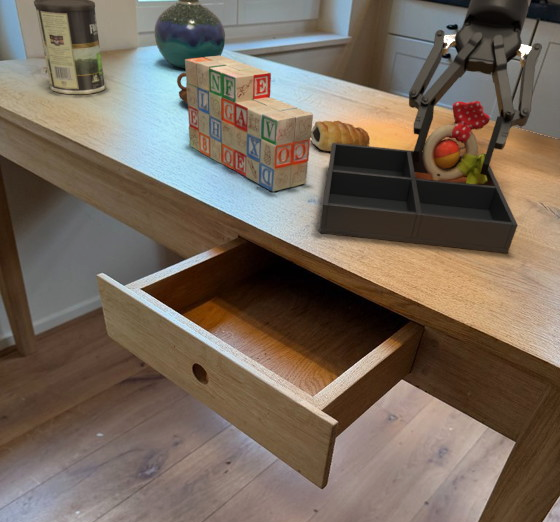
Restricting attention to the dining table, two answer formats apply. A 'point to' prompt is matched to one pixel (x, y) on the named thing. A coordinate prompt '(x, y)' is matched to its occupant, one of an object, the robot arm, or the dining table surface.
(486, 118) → the bird rattle
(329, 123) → the pastry
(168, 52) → the vase
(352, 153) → the grid
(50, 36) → the coffee can
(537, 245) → the dining table surface
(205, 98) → the stack of blocks
